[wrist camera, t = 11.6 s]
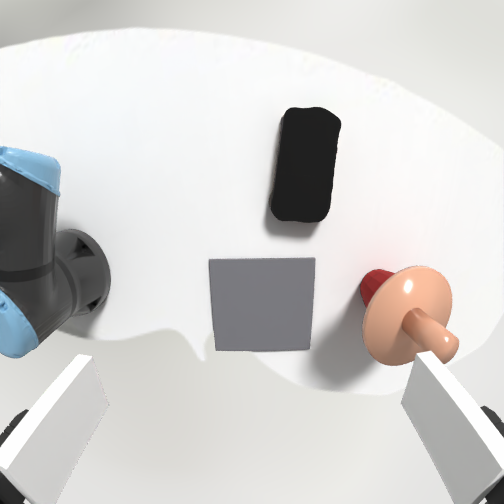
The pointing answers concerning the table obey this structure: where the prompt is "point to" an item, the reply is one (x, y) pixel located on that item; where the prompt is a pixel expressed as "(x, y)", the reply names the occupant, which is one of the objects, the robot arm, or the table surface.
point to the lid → (410, 318)
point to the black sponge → (305, 165)
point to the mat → (262, 303)
